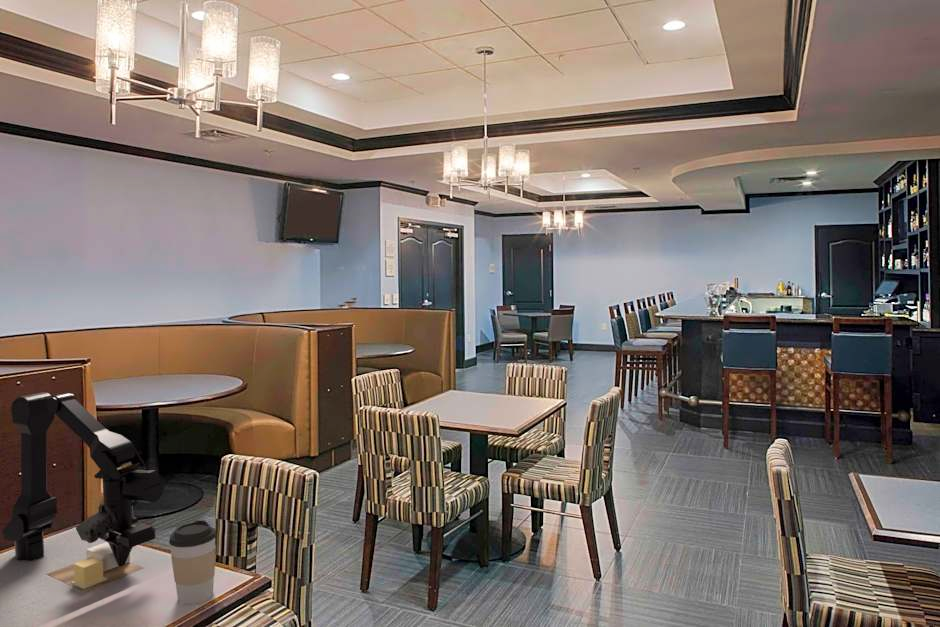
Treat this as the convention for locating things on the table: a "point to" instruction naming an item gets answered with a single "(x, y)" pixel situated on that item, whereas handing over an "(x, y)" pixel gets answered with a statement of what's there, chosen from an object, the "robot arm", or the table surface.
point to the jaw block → (88, 571)
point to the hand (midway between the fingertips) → (121, 565)
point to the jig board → (112, 574)
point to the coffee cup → (193, 561)
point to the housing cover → (104, 555)
